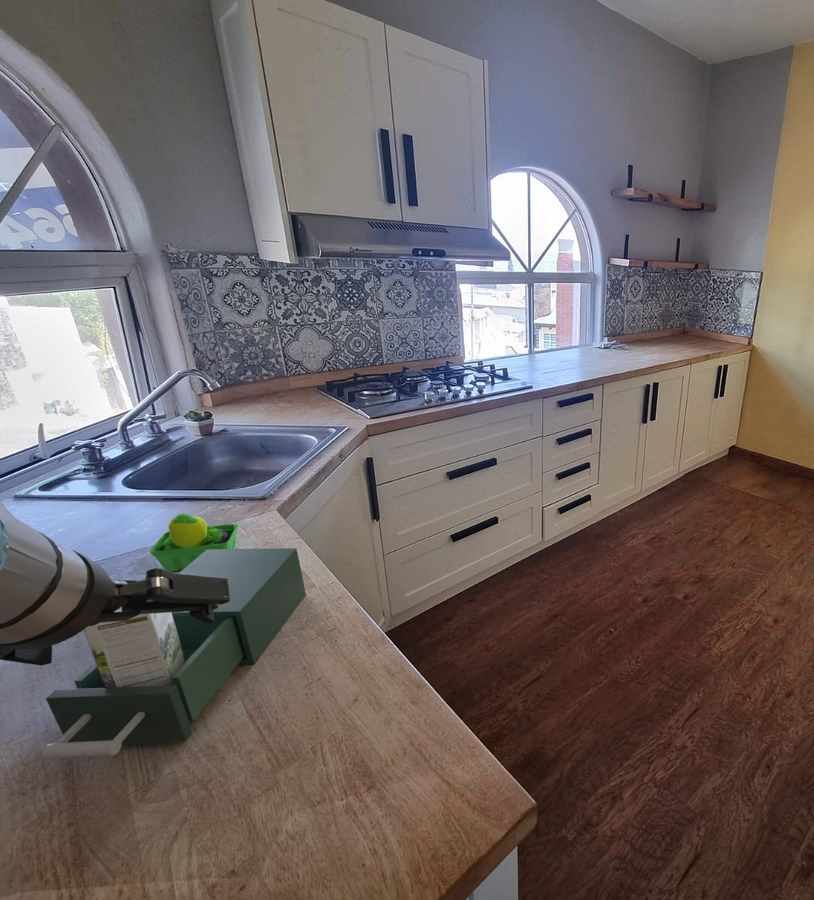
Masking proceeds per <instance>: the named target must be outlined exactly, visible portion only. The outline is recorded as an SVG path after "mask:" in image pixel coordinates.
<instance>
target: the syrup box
mask: <svg viewBox="0 0 814 900" xmlns="http://www.w3.org/2000/svg"><path fill="white" fill-rule="evenodd" d="M115 612H122V607H120V608H119V609H118V610H116V611H115ZM83 633H84V635H85V638H86V640H87V643H88V645H89V648H90V651H91V654H92V656H93V659H94V661H95V662H96V664H97V667H98V670H99V672H100V675H101V678H102V680H103V683H104V686H105V688H116V687H143V686H169V685H174V684H173V681H172V676H173V675H174V674H175V673H176V672H177V671H178V670H179V669H180V668H181V667H182V666H183V664H184V663H185V662H186V659H185V656H184V653H183V650H182V646H181V643H180V640H179V636H178V633H177V630H176V626H175V623H174V620H173V617H172V613H171V612H167V613H152V614H139V615H138V616H136V617H133V618H131V619H129V620H126V621H114V622H101V623H98V624H96V625H94V626H88V627H87V628H85V629H84V630H83ZM95 662H94V663H95Z"/></svg>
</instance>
